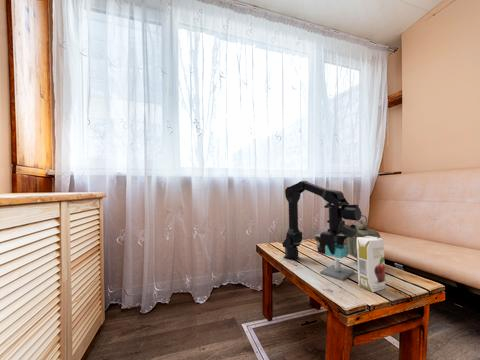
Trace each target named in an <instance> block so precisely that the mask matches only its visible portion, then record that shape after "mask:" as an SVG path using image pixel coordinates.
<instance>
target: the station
mask: <svg viewBox="0 0 480 360" xmlns="http://www.w3.org/2000/svg"><path fill="white" fill-rule="evenodd" d="M341 264H342V263H341V261H340V259H339V258H335V259H334V264H332V265H329V266H328V267H326V268H324V269H323V270H320V274H321V275H323V276H327V277H330V278H333V279H336V280H340V281H345V280H346V279H348V278H349V277H351V276H352V275H353V274H355V270H353V269H349V268H346V267H343V266H342V265H341Z"/></svg>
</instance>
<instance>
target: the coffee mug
mask: <svg viewBox="0 0 480 360" xmlns="http://www.w3.org/2000/svg"><path fill="white" fill-rule="evenodd" d="M320 234H321V233H317V234H315V236H314V238H315V239H314V240H315V241H316V248H317V253H319V254H321V255H325V246H326V243H325V241H324V240H323V239H320Z"/></svg>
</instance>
